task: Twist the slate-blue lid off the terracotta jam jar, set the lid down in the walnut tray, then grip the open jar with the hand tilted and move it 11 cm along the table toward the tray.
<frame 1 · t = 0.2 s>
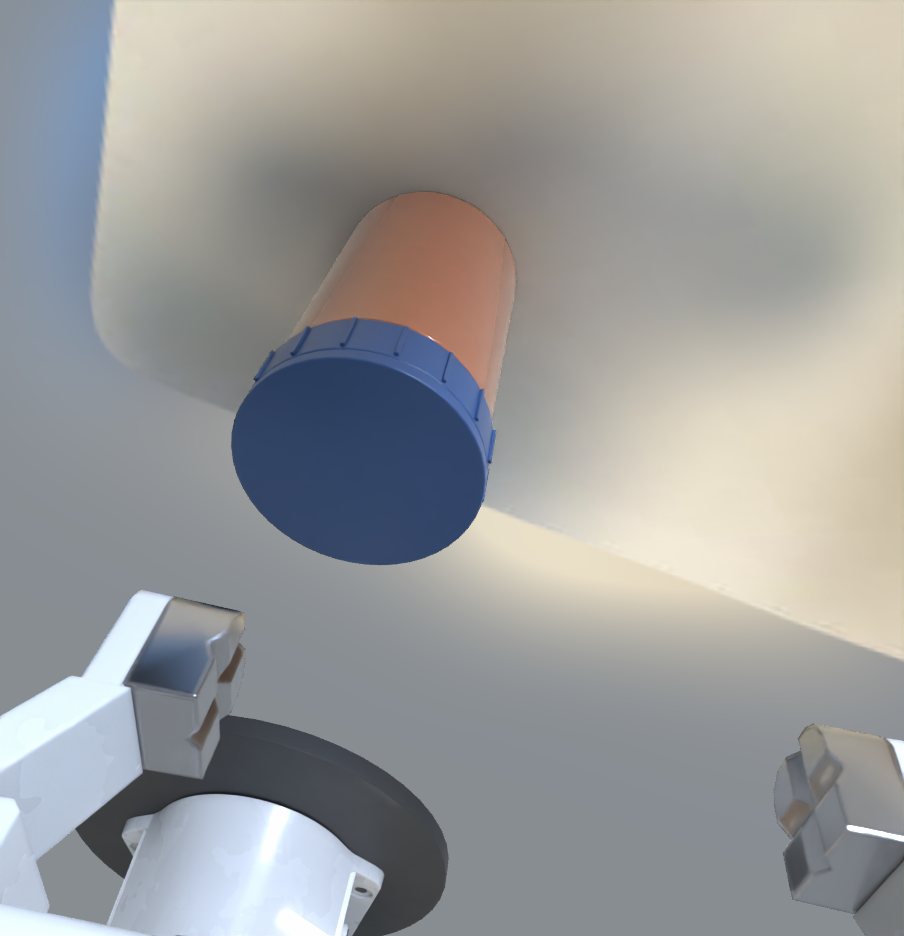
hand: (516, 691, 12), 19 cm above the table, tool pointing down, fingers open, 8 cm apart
jar: (429, 277, 29), on the table
jar lid: (360, 461, 21), point 11 cm above the table, screwed on, not yet turned
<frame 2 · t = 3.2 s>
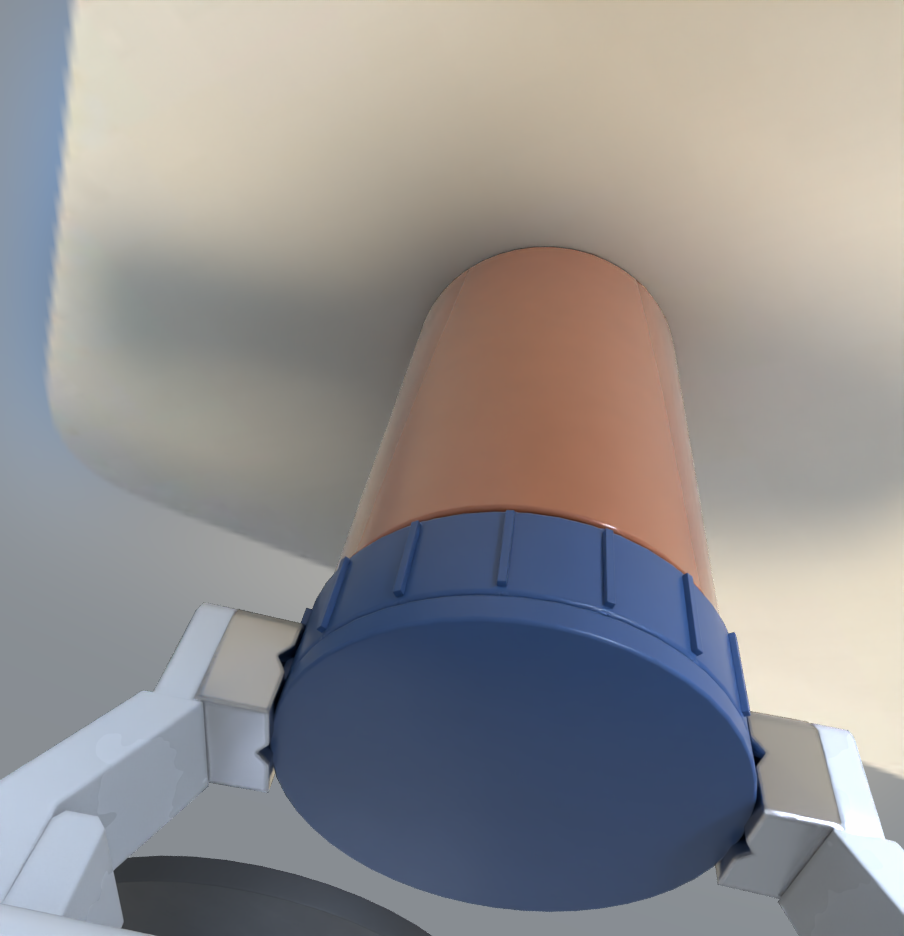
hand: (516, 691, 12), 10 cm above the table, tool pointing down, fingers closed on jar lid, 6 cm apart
jar: (543, 368, 20), on the table
jar lid: (506, 762, 11), point 11 cm above the table, screwed on, not yet turned, touching gripper
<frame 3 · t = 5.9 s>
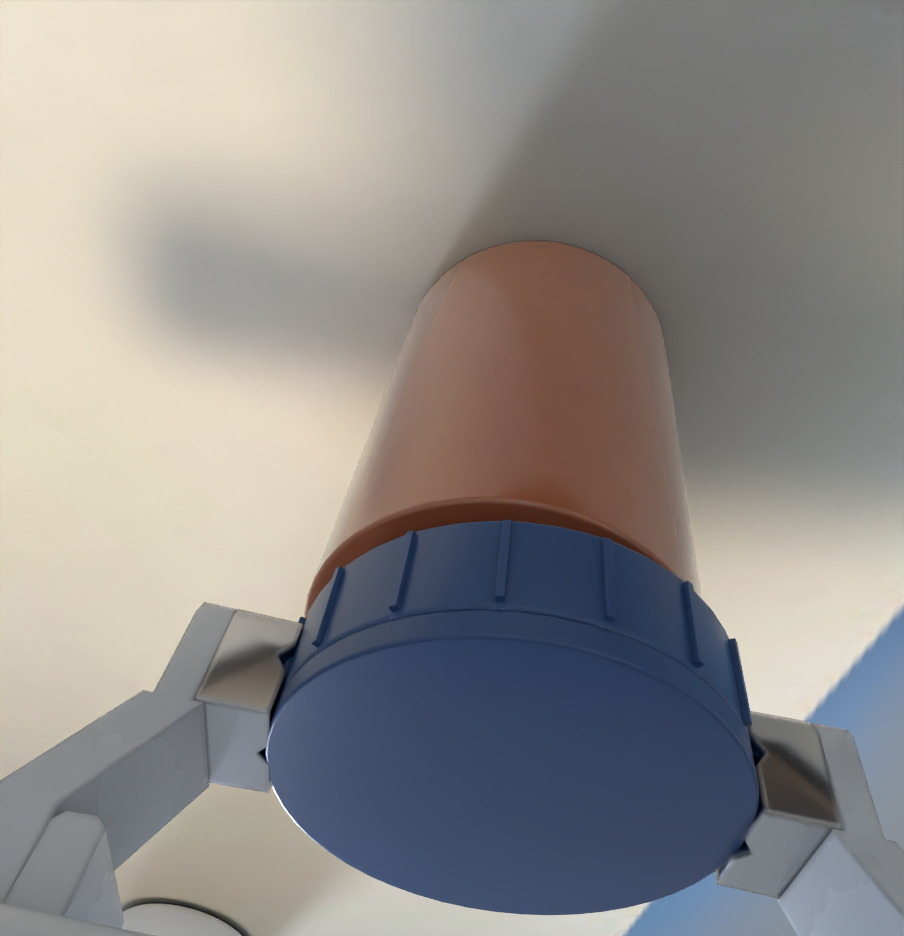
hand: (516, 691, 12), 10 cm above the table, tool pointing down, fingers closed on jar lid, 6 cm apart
bath foam: (187, 930, 41), on the table
jar: (533, 363, 20), on the table
jar lid: (505, 772, 11), point 11 cm above the table, off its thread, touching gripper
when the fingers open (1 cm above the table, at t = 15.5 s): jar lid stays where it is, resting on tray.
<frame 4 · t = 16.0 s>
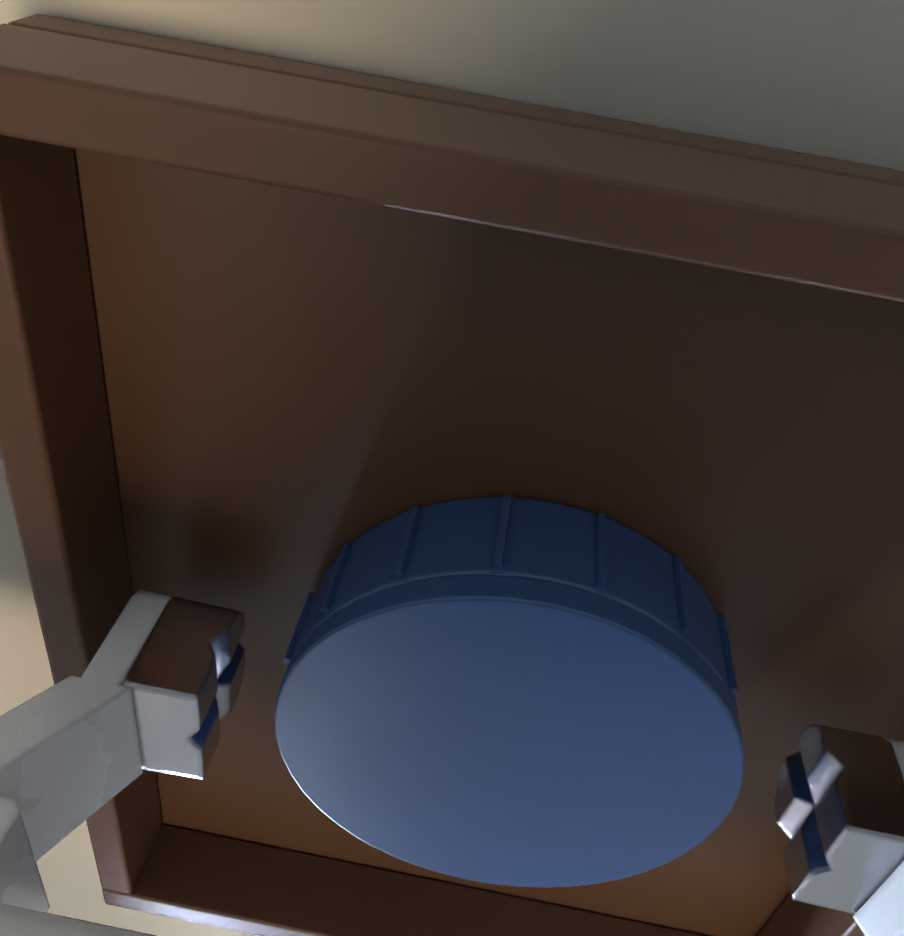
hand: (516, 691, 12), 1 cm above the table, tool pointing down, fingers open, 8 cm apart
tray: (520, 625, 13), on the table
jar lid: (503, 740, 12), point 2 cm above the table, off its thread, touching tray
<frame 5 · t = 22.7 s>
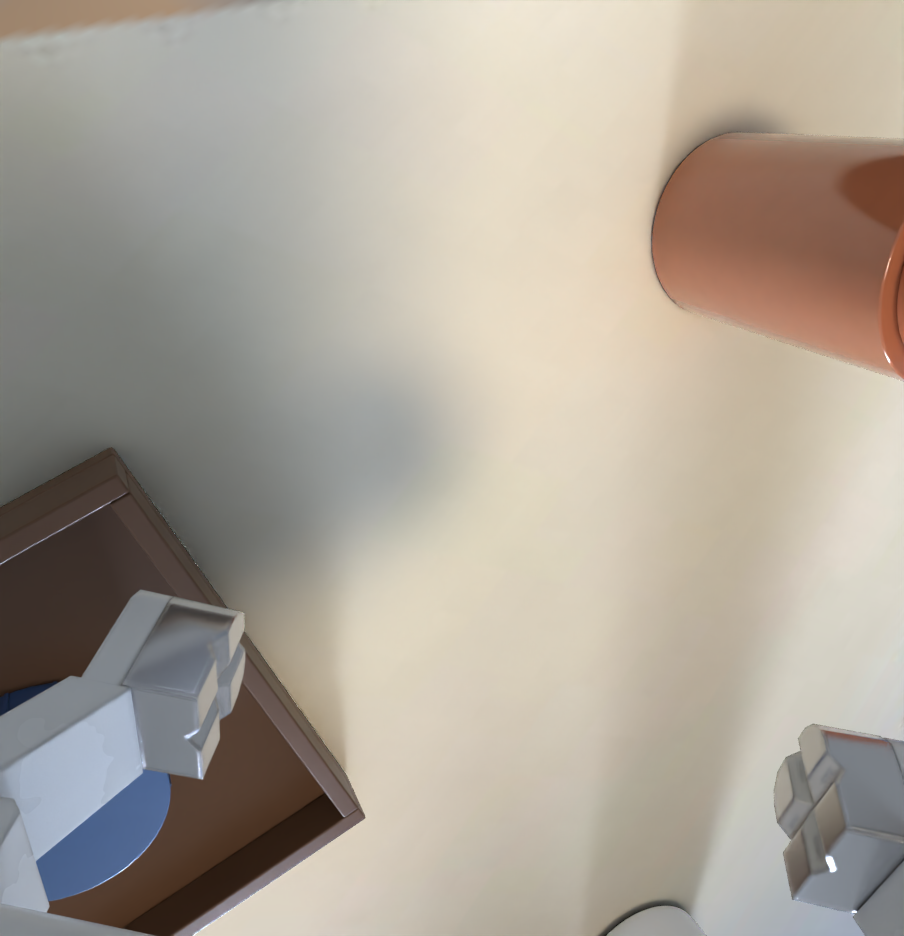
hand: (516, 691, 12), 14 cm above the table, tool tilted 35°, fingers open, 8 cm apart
jar: (724, 227, 28), on the table
tray: (54, 754, 25), on the table
jar lid: (53, 805, 24), point 2 cm above the table, off its thread, touching tray
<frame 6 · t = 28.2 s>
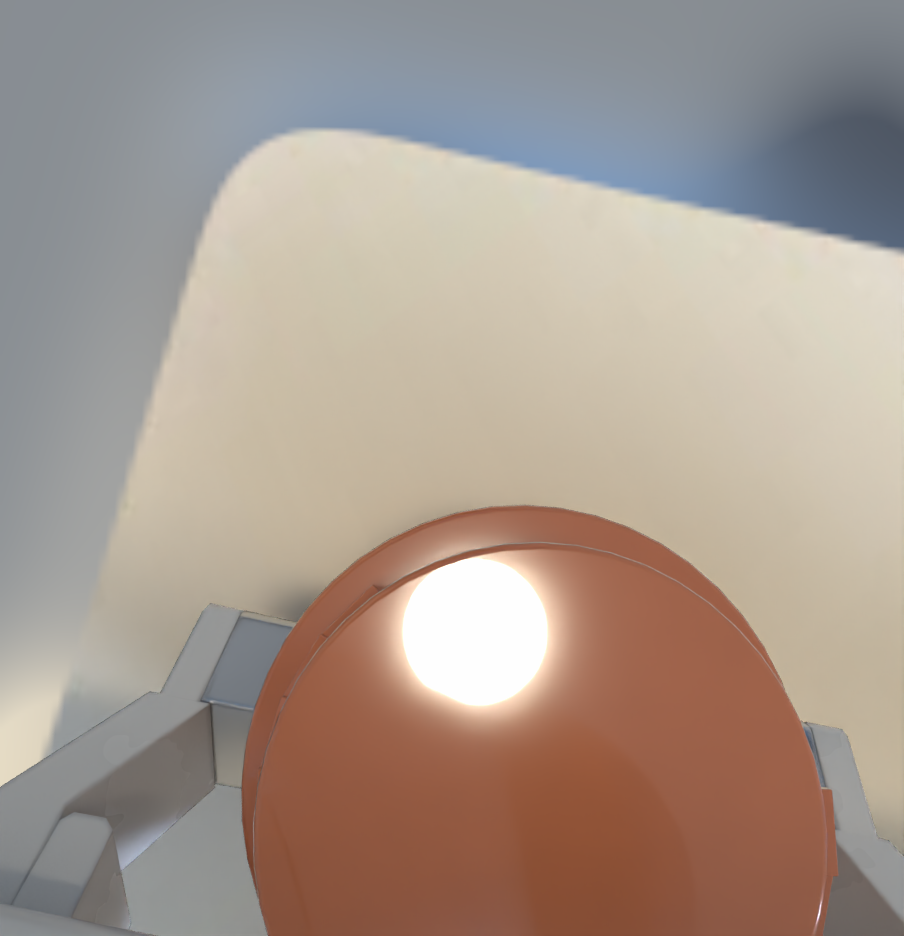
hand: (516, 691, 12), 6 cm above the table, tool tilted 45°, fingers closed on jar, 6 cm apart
jar: (487, 687, 18), on the table, touching gripper
when the fingers open (6 cm above the table, at t = 35.4 s): jar stays where it is, on the table.
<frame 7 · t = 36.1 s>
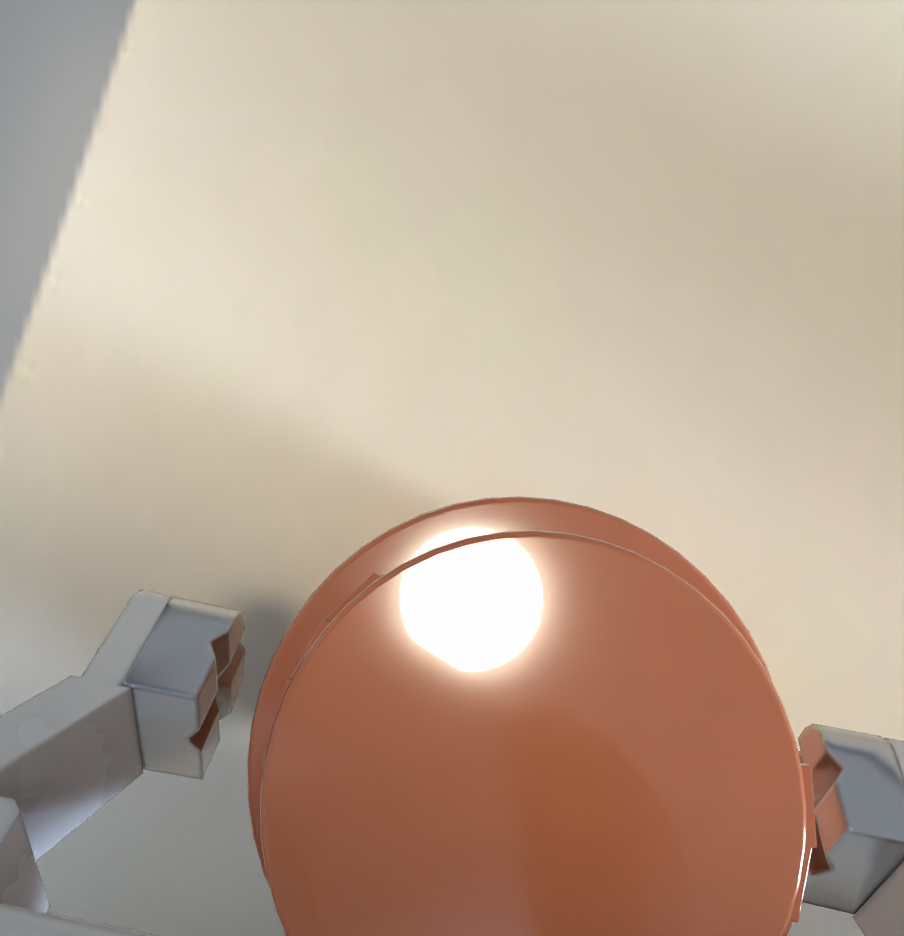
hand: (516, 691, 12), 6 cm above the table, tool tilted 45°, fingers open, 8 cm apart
jar: (485, 679, 18), on the table
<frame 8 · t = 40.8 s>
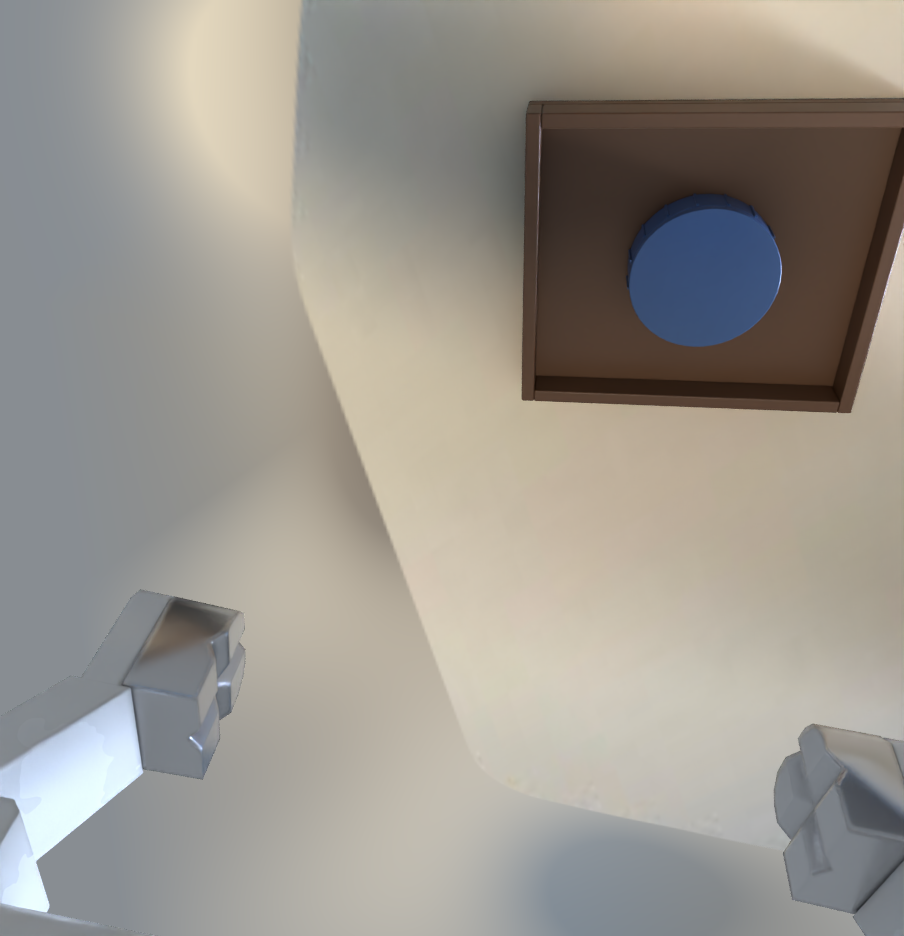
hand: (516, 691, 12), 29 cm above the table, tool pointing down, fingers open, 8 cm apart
tray: (696, 256, 38), on the table
jar lid: (703, 277, 36), point 2 cm above the table, off its thread, touching tray
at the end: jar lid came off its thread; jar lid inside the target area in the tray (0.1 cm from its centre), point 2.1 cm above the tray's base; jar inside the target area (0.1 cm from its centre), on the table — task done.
